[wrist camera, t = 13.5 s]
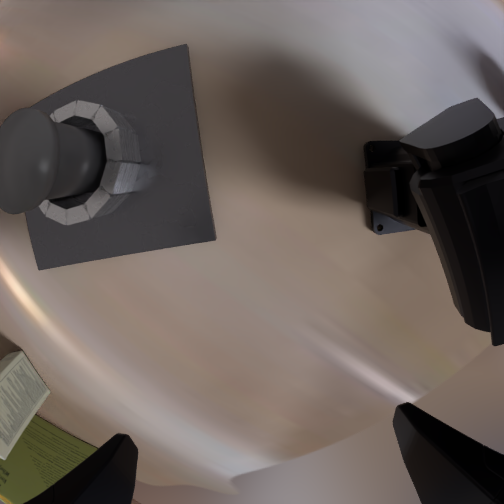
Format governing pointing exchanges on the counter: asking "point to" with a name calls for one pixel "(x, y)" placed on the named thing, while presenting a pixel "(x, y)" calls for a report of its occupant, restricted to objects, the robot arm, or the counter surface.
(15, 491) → the protein box
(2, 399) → the skincare box
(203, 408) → the counter surface
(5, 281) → the counter surface
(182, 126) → the barrel stand
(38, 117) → the plug
